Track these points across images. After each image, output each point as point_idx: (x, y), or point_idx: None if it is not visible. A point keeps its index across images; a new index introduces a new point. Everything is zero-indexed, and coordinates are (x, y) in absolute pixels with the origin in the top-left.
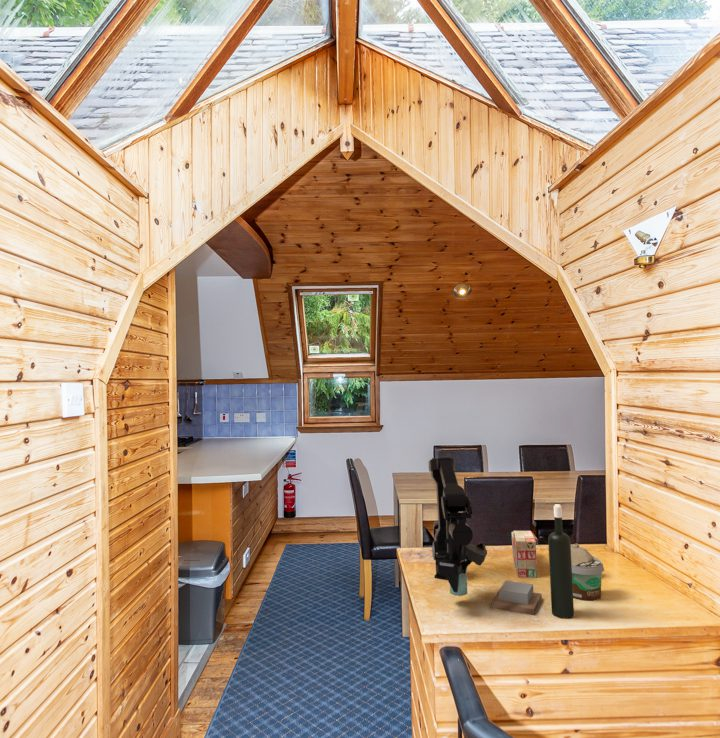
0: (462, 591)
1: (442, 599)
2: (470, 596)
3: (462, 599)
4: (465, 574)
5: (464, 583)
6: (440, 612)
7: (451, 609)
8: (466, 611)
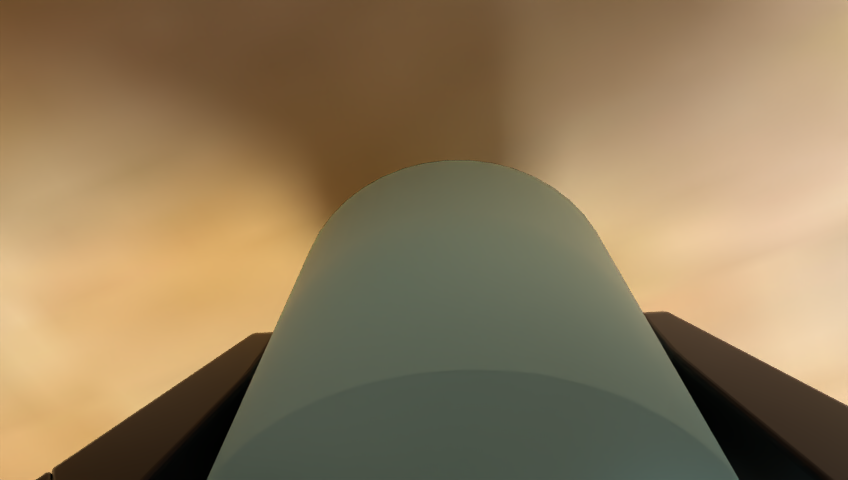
0: (590, 232)
1: None
2: (120, 190)
3: (280, 246)
4: (263, 454)
5: (562, 281)
6: (794, 331)
7: (658, 252)
8: (651, 44)
